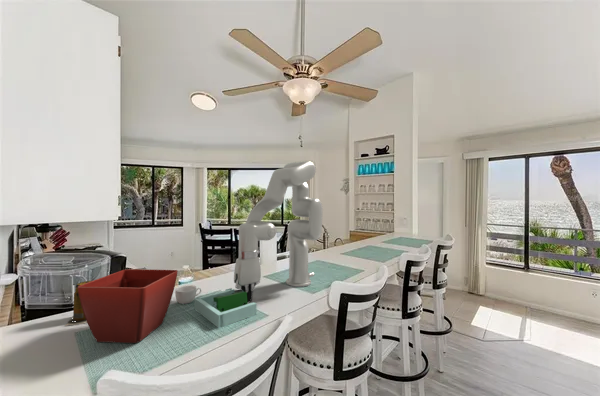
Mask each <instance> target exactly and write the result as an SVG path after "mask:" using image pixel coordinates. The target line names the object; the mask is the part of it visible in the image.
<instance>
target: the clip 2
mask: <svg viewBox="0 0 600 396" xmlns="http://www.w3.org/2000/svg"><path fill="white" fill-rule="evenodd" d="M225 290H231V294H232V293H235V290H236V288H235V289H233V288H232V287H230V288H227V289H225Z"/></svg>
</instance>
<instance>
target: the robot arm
mask: <svg viewBox="0 0 600 396" xmlns="http://www.w3.org/2000/svg"><path fill="white" fill-rule="evenodd" d="M316 170H317V169H316V165H315V164H314V163H313V162H312V161H310V160H309V161H307V160H305V161H298V162H296V161H295V162H290V163H287V164H285V165H284V166H283V167H282V168H278V169H274V171H273V172H272V174H271V177H270V180H269V182H268V185H267V188H266V191H265V193H264V196H263V197H262V199H261V200H260V201H258V202H257V204H256V205H255V206H254V207H253V208H252V210H251V211H250V212H249V214H248V216H247V219H246V221H245V223H241V224H240V225H239V227H238V258H236V260H235V265H234V270H233V283H234V284H235V289H236V290H239V289H242V290H243V291H244V292H247V301H248V303H249V302H250V303H252V302H253V291H254V290H255V287H256V286H257V285H259V284H260V283H261V278H262V269H261V261H260V257H259V254H260V253H261V251H260V249H259V241H271V240H272V239H274V238H275V236H276V234H277V227H276V226H275V225H274V224H273V223H271V222H267V221H262V219H263V218H264V216H265V215H266V214H267V213H269V212H271V211H272V210H274V209H276V208H278V207H280V206H281V205H282V204H283V202H284V199H285V195H286V192H287V190H288V188H289V187H291V188H292V194H291V195H292V197H291V212H292V214H293V216H294V217H299V219H293V220H290V221H289V223H288V225H287V236H288V242H289V248H288V249H289V251H288V253H289V256H288V257H289V259H288V263H289V264H288V278H286V280H285V283H286V285H288V286H290V287H295V288H296V287H298V288H299V287H300V288H301V287H307V286H310V285H311V284H312V280H311V279H310V278H311V277H314V276H315V272H309V244H308V242H307V241H317V240H319V239H320V238H321V235H322V232H323V231H322V230H323V211H324V209H323V204H322V201H321V200H320V199H319V198H316V197H310V186H309V185H308V183H307V182H309V181H310V180H312V179H313V178H314V176H315V175H316V172H317V171H316ZM300 218H308V219H300Z"/></svg>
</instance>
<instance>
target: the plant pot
mask: <svg viewBox="0 0 600 396" xmlns="http://www.w3.org/2000/svg"><path fill="white" fill-rule="evenodd" d="M177 276H178V270H177V269H142V268H140V269H135V268H134V269H133V268H130V269H128V268H126V269H122V270H119V271H116V272H114V273H111V274H107V275H106V276H103V277H100V278H97V279H94V280H90V281H91V282H88V283H85V284H82V285H80V286H78V292H79V297H80V302H81V306H82V309H83V313H84V316H85V318H86V321H87V323H86V324H87V326H88V328H89V330H90V332H91V333H92V336H93V338H94V339H95V341H96V342H97V343H122V344H123V343H124V344H126V343H127V344H128V343H129V344H136V343H139V342H141V341H143V339H145V338H146V337H148V336H149V335H150V334H151V333H152V332H154V331H155V330H156V329H157V328H159V327H160V326H161V325H162V324H163V323H164V320H165V319H166V315H167V312H168V309H169V307H170V304H171V301H172V297H173V294H174V291H175V288H176V281H177V278H178V277H177Z"/></svg>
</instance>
